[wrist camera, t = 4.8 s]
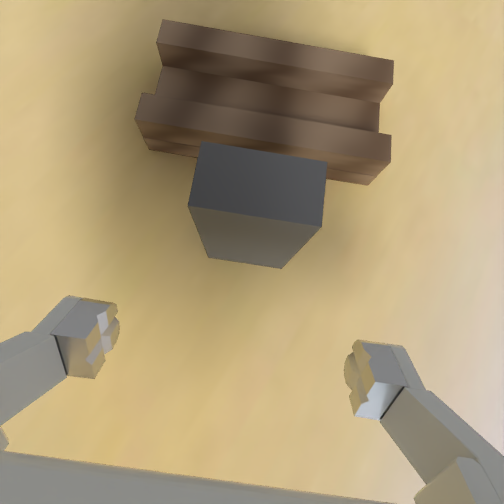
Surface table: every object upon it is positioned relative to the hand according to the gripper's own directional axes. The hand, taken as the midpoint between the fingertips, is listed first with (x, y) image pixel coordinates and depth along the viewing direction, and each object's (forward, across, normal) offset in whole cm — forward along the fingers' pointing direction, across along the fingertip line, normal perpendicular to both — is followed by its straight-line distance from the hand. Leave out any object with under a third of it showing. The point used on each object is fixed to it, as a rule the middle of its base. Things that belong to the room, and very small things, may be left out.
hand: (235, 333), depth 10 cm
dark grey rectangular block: (+12, 0, +3) cm, 12 cm away
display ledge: (+20, 0, -4) cm, 20 cm away
